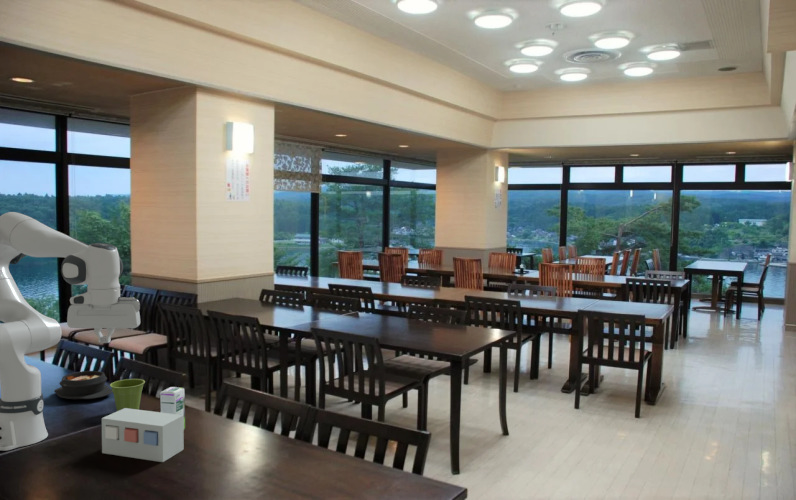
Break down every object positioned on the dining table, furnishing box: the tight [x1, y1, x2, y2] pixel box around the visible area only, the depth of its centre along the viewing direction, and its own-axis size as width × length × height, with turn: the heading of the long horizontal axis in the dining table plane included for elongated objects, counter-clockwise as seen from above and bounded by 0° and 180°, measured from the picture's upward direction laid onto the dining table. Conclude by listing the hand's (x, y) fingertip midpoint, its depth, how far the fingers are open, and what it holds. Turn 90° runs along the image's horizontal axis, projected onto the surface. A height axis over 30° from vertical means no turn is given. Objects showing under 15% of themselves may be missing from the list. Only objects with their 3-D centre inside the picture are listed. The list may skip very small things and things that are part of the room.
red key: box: [124, 428, 139, 443], centre depth 177 cm, size 4×3×4 cm
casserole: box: [53, 370, 113, 401], centre depth 235 cm, size 25×19×8 cm
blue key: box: [144, 430, 158, 445], centre depth 175 cm, size 4×3×4 cm
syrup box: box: [159, 386, 186, 430], centre depth 199 cm, size 6×6×14 cm
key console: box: [101, 408, 185, 463], centre depth 182 cm, size 22×10×11 cm, turn 75°
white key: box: [105, 425, 119, 440], centre depth 179 cm, size 4×3×4 cm
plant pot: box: [109, 378, 146, 412], centre depth 216 cm, size 12×12×11 cm
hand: (104, 342), depth 176 cm, fingers closed
